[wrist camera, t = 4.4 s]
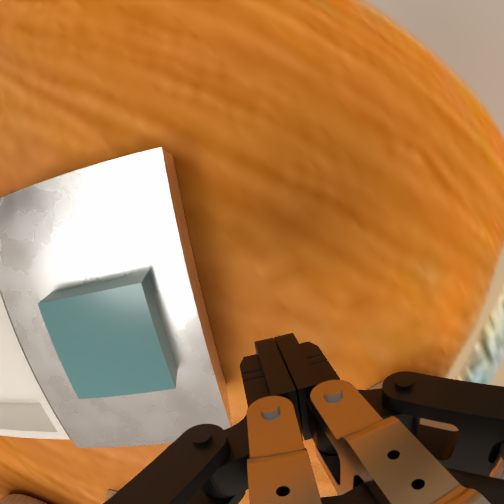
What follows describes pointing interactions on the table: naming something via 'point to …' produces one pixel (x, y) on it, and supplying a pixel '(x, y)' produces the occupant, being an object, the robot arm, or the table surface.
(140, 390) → the block
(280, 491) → the robot arm
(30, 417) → the box
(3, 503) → the canister
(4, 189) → the table surface
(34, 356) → the gray rectangular block
